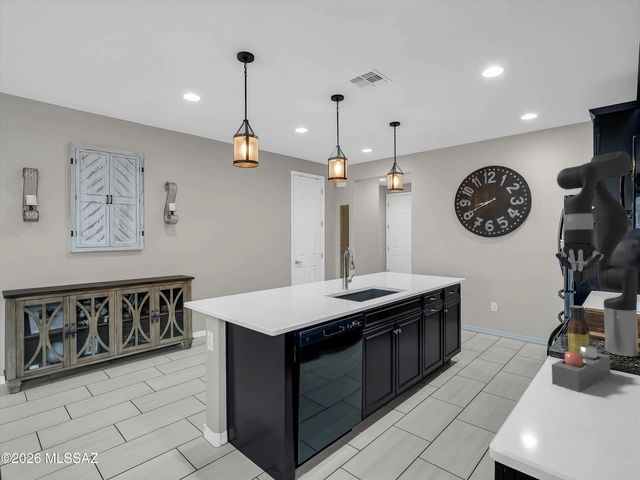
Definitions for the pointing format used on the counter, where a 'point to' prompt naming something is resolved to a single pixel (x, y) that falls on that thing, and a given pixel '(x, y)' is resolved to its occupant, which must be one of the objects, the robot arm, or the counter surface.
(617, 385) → the counter surface
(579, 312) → the sauce bottle
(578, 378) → the button panel
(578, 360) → the red button
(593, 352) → the steel button
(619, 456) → the counter surface
